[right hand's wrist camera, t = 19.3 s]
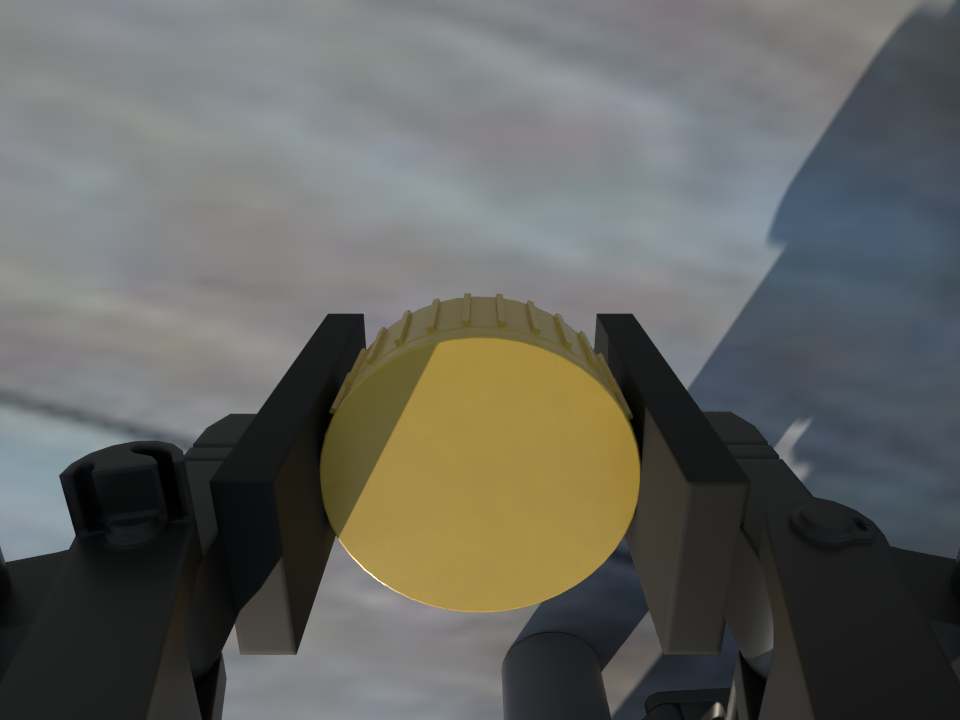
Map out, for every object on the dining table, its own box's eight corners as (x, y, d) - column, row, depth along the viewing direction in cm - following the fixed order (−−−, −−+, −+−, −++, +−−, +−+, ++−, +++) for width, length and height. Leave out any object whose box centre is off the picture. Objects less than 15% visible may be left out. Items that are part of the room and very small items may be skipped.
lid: (364, 260, 11) (339, 294, 9) (659, 328, 11) (695, 373, 9) (321, 513, 13) (293, 585, 11) (576, 563, 13) (591, 640, 11)
